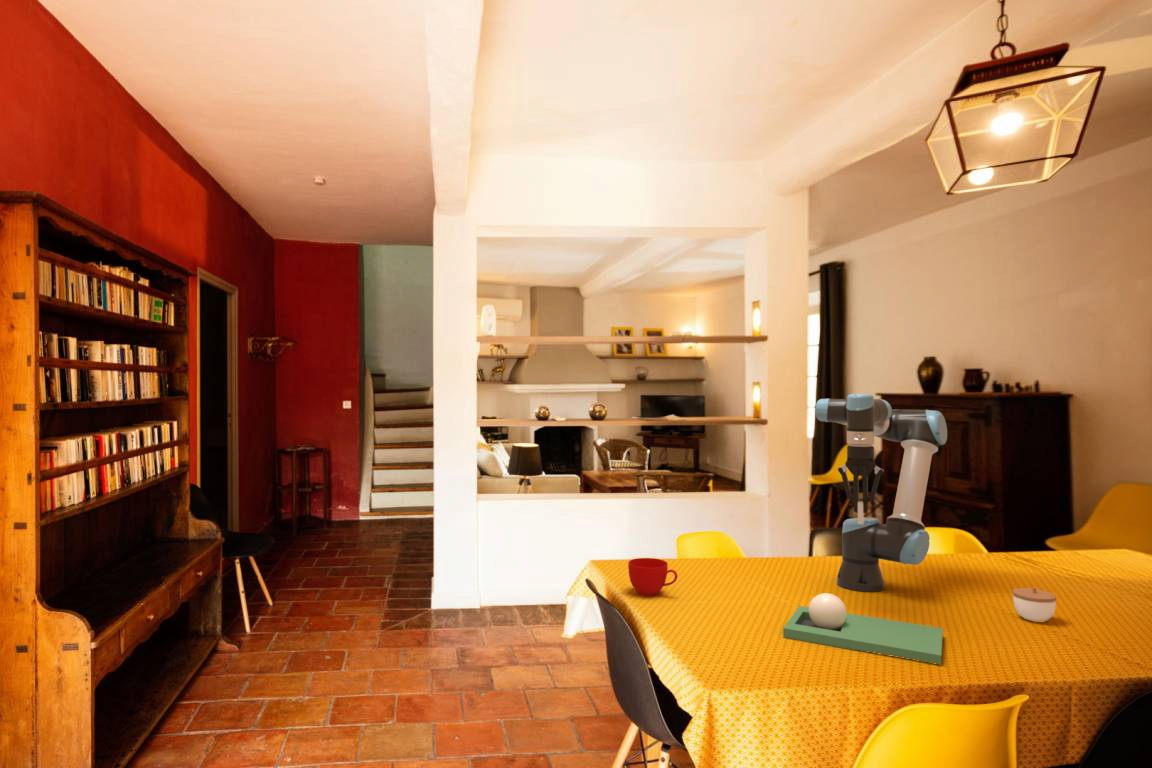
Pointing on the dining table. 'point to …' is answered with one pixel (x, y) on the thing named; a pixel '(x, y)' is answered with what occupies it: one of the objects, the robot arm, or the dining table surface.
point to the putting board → (871, 636)
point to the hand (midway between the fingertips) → (860, 523)
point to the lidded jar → (1034, 603)
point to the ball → (827, 611)
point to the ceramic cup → (649, 575)
